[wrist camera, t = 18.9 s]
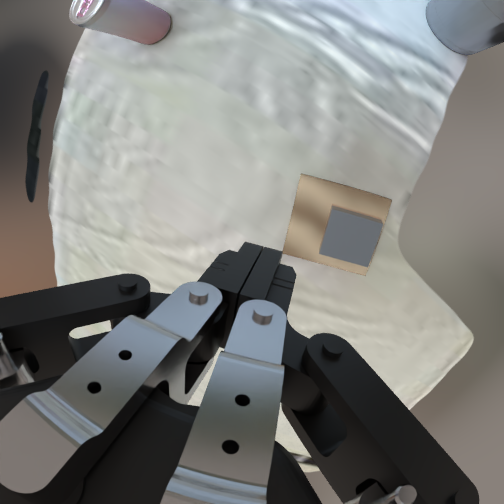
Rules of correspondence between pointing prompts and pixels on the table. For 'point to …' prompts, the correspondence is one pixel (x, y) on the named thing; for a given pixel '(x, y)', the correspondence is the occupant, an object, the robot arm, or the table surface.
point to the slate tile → (350, 235)
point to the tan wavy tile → (316, 214)
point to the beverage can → (122, 18)
